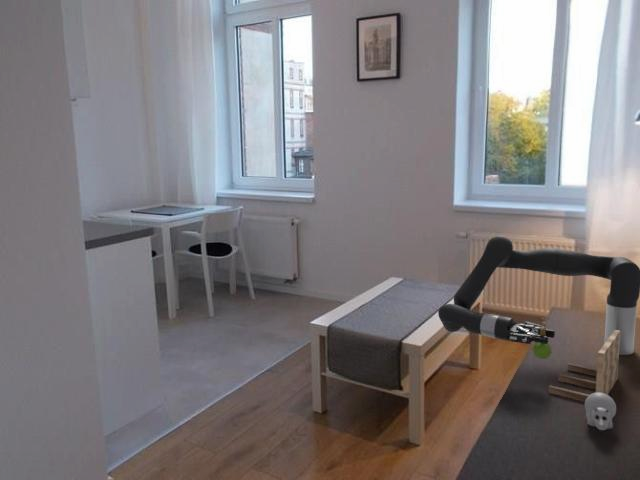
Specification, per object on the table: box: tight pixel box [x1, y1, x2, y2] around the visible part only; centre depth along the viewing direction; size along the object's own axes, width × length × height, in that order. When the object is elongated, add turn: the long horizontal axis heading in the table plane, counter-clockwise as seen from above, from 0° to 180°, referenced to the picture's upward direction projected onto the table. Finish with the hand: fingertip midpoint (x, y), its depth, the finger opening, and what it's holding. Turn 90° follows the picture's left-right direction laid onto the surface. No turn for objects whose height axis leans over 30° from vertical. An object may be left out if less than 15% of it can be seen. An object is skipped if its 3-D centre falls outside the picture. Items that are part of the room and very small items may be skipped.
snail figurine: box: [532, 317, 552, 360], centre depth 171 cm, size 5×6×12 cm
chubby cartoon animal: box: [584, 391, 617, 431], centre depth 145 cm, size 8×12×9 cm, turn 153°
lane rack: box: [548, 330, 620, 403], centre depth 168 cm, size 22×14×16 cm, turn 141°
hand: (551, 337), depth 169 cm, fingers closed on snail figurine, 5 cm apart
